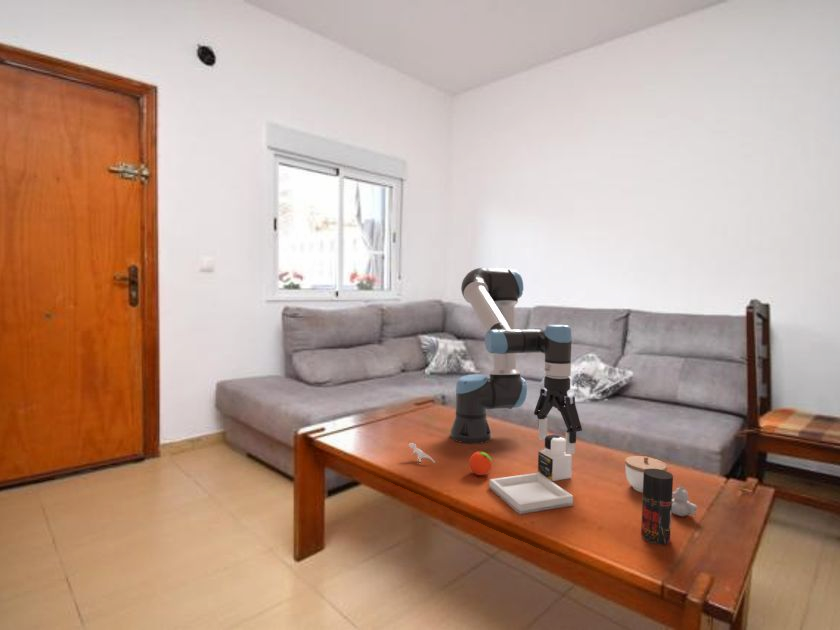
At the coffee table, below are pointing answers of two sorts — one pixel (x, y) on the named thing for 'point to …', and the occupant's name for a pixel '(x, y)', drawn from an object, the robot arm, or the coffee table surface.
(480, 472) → the clementine
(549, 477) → the medicine bottle
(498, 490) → the tray
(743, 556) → the coffee table surface
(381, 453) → the coffee table surface
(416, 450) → the dinosaur figurine
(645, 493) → the deodorant
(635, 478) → the lidded jar
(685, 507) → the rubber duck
